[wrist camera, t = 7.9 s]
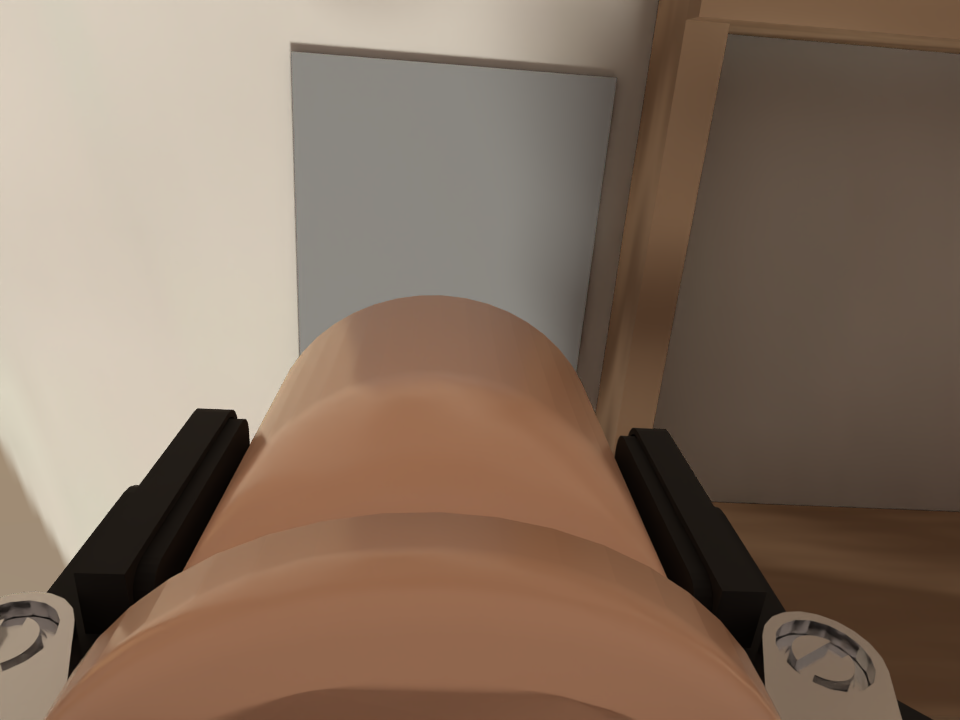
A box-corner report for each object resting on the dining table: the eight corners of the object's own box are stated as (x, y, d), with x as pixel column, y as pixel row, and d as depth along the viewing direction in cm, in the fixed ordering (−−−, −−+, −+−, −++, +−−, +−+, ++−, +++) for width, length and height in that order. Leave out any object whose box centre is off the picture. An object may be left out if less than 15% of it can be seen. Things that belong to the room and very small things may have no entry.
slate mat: (562, 463, 27) (563, 466, 26) (303, 452, 26) (302, 454, 26) (615, 77, 21) (617, 77, 21) (292, 51, 21) (291, 51, 21)
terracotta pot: (588, 596, 14) (741, 1155, 7) (258, 588, 14) (42, 1178, 6) (642, 284, 12) (978, 644, 4) (237, 260, 11) (-167, 617, 4)
